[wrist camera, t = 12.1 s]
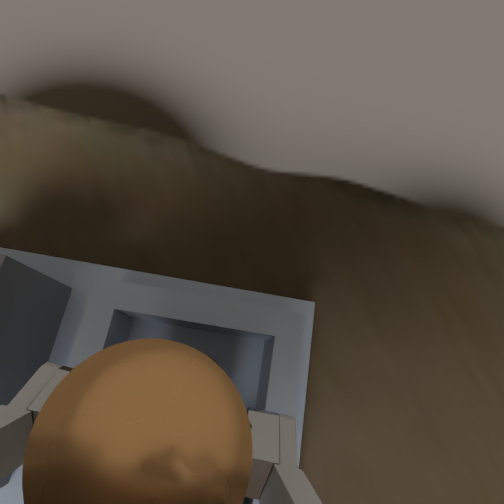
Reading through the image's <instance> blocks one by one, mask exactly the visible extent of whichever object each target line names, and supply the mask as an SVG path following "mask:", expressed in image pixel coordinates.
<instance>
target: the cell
mask: <svg viewBox="0 0 504 504" xmlns="http://www.w3.org/2000/svg"><path fill="white" fill-rule="evenodd" d="M252 454H253V451H252V434H251V428H250V422H249V418H248V415H247V411H246V408H245V405H244V403H243V401H242V398H241V396H240V394H239V392H238V390H237V389H236V387H235V385H234V383H233V382H232V380H231V379H230V378H229V376H228V375H227V373H226V372H225V371H224V369H223V368H222V367H221V366H220V365H219V364H218V363H217V362H216V361H215V360H214V359H212V358H211V357H210V356H208V355H206V354H204V353H202V352H200V351H198V350H196V349H195V348H193V347H190V346H187V345H185V344H182V343H179V342H175V341H171V340H165V339H155V338H152V339H137V340H131V341H126V342H122V343H119V344H116V345H112V346H110V347H108V348H106V349H103V350H101V351H99V352H97V353H96V354H94V355H92V356H90V357H89V358H87V359H86V360H84V361H83V362H82V363H80V364H79V365H78V366H76V367H75V368H74V369H73V370H72V371H71V372H70V373H68V374H67V375H66V376H65V377H64V378H63V379H62V380H61V382H60V383H59V384H58V385H57V386H56V387H55V389H54V390H53V391H52V392H51V394H50V395H49V397H48V398H47V400H46V401H45V403H44V404H43V406H42V408H41V410H40V412H39V414H38V416H37V418H36V419H35V422H34V424H33V427H32V430H31V432H30V435H29V438H28V442H27V446H26V450H25V454H24V461H23V469H22V491H23V500H24V504H242V503H243V500H244V497H245V494H246V491H247V488H248V484H249V479H250V474H251V467H252Z"/></svg>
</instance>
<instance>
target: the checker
mask: <svg viewBox="0 0 504 504" xmlns="http://www.w3.org/2000/svg"><path fill="white" fill-rule="evenodd" d="M314 309H315V302H311V301H305V300H299V299H294V298H288V297H282V296H276V295H271V294H265V293H259V292H253V291H248V290H242V289H236V288H231V287H225V286H219V285H213V284H208V283H202V282H196V281H190V280H185V279H179V278H173V277H168V276H162V275H156V274H150V273H145V272H139V271H133V270H127V269H122V268H116V267H110V266H105V265H99V264H93V263H87V262H82V261H76V260H70V259H65V258H59V257H53V256H47V255H42V254H36V253H30V252H24V251H19V250H13V249H7V248H2V247H0V406H1V405H6V406H7V405H8V404H9V403H10V402H11V401H12V399H13V398H14V397H15V396H16V395H17V394H18V392H19V391H20V390H21V389H22V388H23V387H24V385H25V384H26V383H27V382H28V381H29V380H30V378H31V377H32V376H33V375H34V374H35V373H36V371H37V370H38V369H39V368H40V367H41V366H42V365H43V364H45V363H46V362H50V363H54V364H58V365H63V366H67V367H71V368H75V367H76V366H78V365H79V364H80V363H82V362H83V361H84V360H86V359H87V358H89V357H90V356H92V355H94V354H96V353H97V352H99V351H101V350H103V349H106V348H108V347H110V346H112V345H116V344H119V343H122V342H126V341H131V340H137V339H152V338H155V339H165V340H171V341H175V342H179V343H182V344H185V345H187V346H190V347H193V348H195V349H196V350H198V351H200V352H202V353H204V354H206V355H208V356H210V357H211V358H212V359H214V360H215V361H216V362H217V363H218V364H219V365H220V366H221V367H222V368H223V369H224V371H225V372H226V373H227V375H228V376H229V378H230V379H231V380H232V382H233V383H234V385H235V387H236V389H237V390H238V392H239V394H240V396H241V398H242V401H243V403H244V405H245V408H246V410H247V408H248V407H252V408H257V409H262V410H267V411H272V412H277V413H278V414H284V415H289V416H293V417H295V420H296V440H297V463H298V469H299V459H300V449H301V439H302V429H303V419H304V409H305V399H306V389H307V379H308V369H309V359H310V349H311V339H312V329H313V319H314ZM22 469H23V464H22V465H21V466H20V467H18V468H17V469H16V470H14V471H13V472H11V473H10V474H9V475H7V476H6V477H5V478H3V479H2V480H1V481H0V504H24V500H23V491H22ZM242 504H259V500H257V499H253V498H249V497H244V500H243V503H242Z"/></svg>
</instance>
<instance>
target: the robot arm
mask: <svg viewBox="0 0 504 504" xmlns="http://www.w3.org/2000/svg"><path fill="white" fill-rule="evenodd" d="M73 369H74V368H71V367H67V366H63V365H58V364H54V363H50V362H46V363H45V364H43V365H42V366H41V367H40V368H39V369H38V370H37V371H36V373H35V374H34V375H33V376H32V377H31V378H30V380H29V381H28V382H27V383H26V384H25V385H24V387H23V388H22V389H21V390H20V391H19V392H18V394H17V395H16V396H15V397H14V398H13V399H12V401H11V402H10V403H9V404H8V405H7V406H6V405H1V406H0V481H1V480H2V479H3V478H5V477H6V476H7V475H9V474H10V473H11V472H13V471H14V470H16V469H17V468H18V467H20V466H21V465H22V464H23V461H24V454H25V450H26V446H27V442H28V438H29V435H30V432H31V430H32V427H33V424H34V422H35V419H36V418H37V416H38V414H39V412H40V410H41V408H42V406H43V404H44V403H45V401H46V400H47V398H48V397H49V395H50V394H51V392H52V391H53V390H54V389H55V387H56V386H57V385H58V384H59V383H60V382H61V380H62V379H63V378H64V377H65V376H66V375H67V374H68V373H70V372H71V371H72V370H73ZM246 411H247V415H248V418H249V422H250V428H251V434H252V451H253V454H252V467H251V474H250V479H249V484H248V488H247V491H246V494H245V497H249V498H253V499H257V500H259V504H322V502H321V501H320V499H319V497H318V496H317V494H316V492H315V490H314V489H313V487H312V485H311V484H310V482H309V480H308V479H307V477H306V475H305V473H304V472H303V470H301V469H298V463H297V440H296V420H295V417H293V416H289V415H284V414H278V413H277V412H272V411H267V410H262V409H257V408H252V407H248V408H247V410H246Z"/></svg>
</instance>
